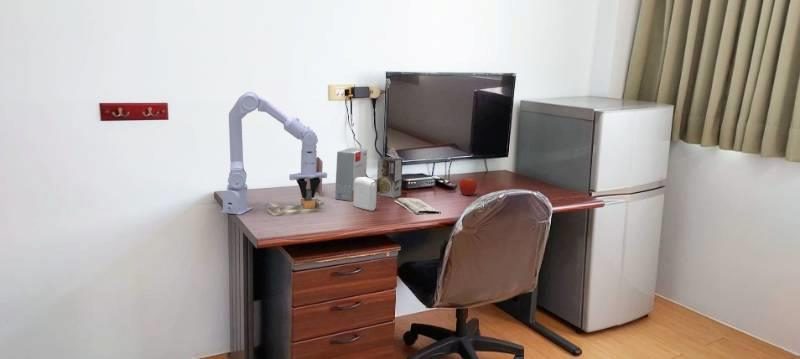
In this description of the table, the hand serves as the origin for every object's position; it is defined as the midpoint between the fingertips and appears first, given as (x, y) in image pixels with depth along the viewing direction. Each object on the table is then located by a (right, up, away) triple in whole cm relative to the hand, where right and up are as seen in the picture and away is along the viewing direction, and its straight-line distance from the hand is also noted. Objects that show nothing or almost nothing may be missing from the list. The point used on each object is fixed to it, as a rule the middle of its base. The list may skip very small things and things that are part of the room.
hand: (308, 197), depth 241 cm
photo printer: (+21, -5, +9) cm, 23 cm away
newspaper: (+42, -5, +14) cm, 44 cm away
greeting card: (0, 0, +28) cm, 28 cm away
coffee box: (+30, 0, +33) cm, 45 cm away
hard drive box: (+14, -1, +27) cm, 30 cm away
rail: (-4, -5, -1) cm, 7 cm away
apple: (+65, 0, +41) cm, 77 cm away
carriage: (0, -4, +1) cm, 4 cm away
